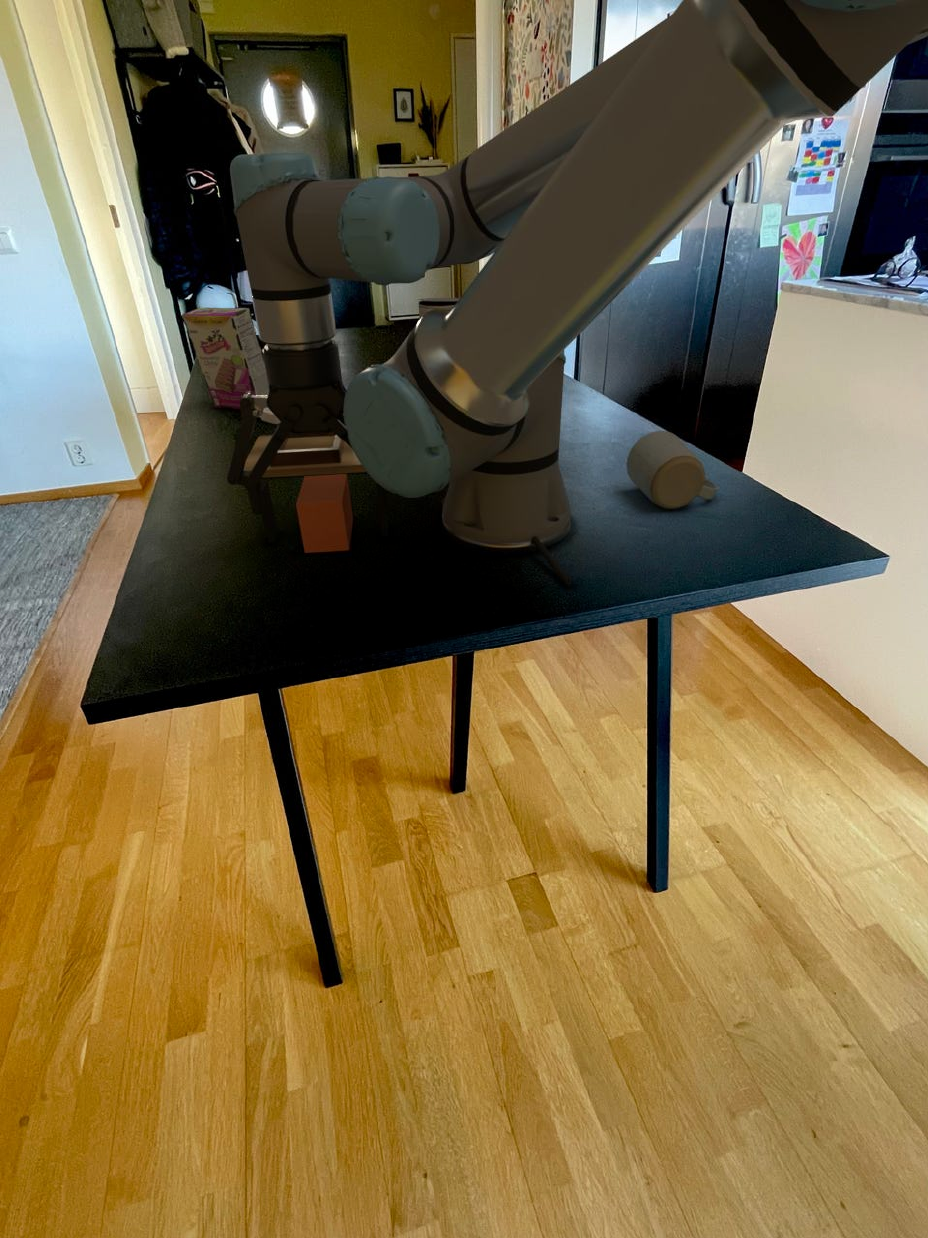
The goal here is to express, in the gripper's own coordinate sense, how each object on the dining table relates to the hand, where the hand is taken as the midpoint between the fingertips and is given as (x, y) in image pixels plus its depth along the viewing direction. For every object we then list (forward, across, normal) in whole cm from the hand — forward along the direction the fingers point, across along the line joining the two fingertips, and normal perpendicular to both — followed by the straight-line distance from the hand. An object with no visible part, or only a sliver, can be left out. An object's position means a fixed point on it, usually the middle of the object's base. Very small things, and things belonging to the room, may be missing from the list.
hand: (329, 534), depth 78 cm
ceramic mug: (0, -43, -5) cm, 43 cm away
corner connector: (0, +14, -50) cm, 51 cm away
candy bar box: (0, +20, -55) cm, 58 cm away
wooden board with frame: (0, +5, -27) cm, 27 cm away
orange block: (0, 0, 0) cm, 0 cm away
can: (+1, -19, -91) cm, 93 cm away
